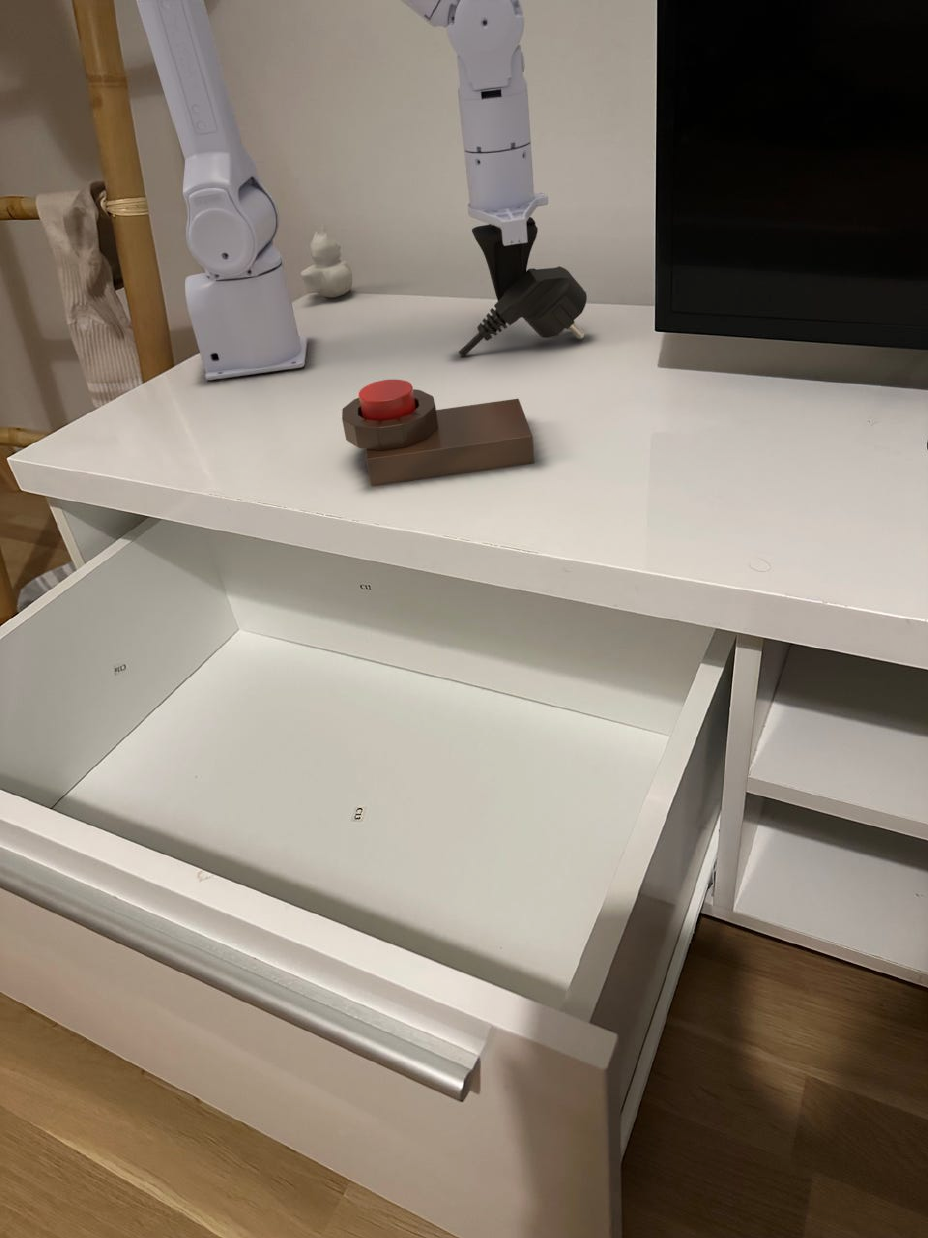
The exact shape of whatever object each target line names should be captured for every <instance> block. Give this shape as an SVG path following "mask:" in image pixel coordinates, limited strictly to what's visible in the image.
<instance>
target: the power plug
mask: <svg viewBox="0 0 928 1238" xmlns="http://www.w3.org/2000/svg"><path fill="white" fill-rule="evenodd" d="M573 276H574V275H572V273H571V272H570V271H569V270H567V268H565V267H562V266H556V267H549V268H537V269H536V268H535V267H534V268H527V269H526V272H525V273H524V274H523V275H522V276H521V277H520V278H519V279H518V280H517V281H516V282H515V283H514V284H513V285H512V286H511V287H510V288H509V289H507V290H506V291H505V292H504V295H503V297H502V298H501V299H500V300H499V301H498V300H497V301H496V302H495V303H494V305H493V307H494V308H495V309H494V308H493V307H492V308H490V310H489V311H490V313H489V312H488V313H487V314H486V318H485V317H484V318H483V319H482V320H481V321H482V322H483V323H482V322H480V323H479V324H478V326H477V328H476V329H477V331H478V333H476V335H474V336H473V337H472V339H471V340H469V342H467V343H466V344H465V345H464V346H463V347H462V348H461V349H460V350H459V351H458V354H459V355H460V356H461V357H462V358H464V357H466V356H467V355H468V354H469V353H470V352H471V351H472V350H473V349H474V348H475V347H476V346H477V345H478V344H479V343H480V342H481V341H482V340H483V339H484V340H485V341H487V342H488V341H490V340H492V339H493V336H494V337H496V336H497V335H498V333H502V332H503V329H504V330H506V329H507V328H508V326H507V324H508V325H509V326H511V325H513V324H514V323H516V322H517V321H519V319H521V318H523V320H524V321H525V322H526V323H527V324H528V325H529V326H530V327H531V328H532V329H533V330H534V331H535V333H536V334H537V335H539V336H540V337H541V338H544V339H549V338H554V337H557V336H559V335H560V334H561V333H562V332H563V331H564V330H565V329H566V330H569V331H570V332H571V333H572V334H573V335H574V336H575V337H576V338H577V339H578V340H582V339H583V338H584V337H585V333H584V331H583V330H582V328H581V327H579V325H578V324H577V323H576V319H577V318H578V317H579V316H581V314H582V313H583V311H584V309H585V307H586V304H587V299H588V296H587V292H586V291H585V290H584V288H583V287H582V286H581V285H580V283H579V282H578V281H577V280H576V279H575V277H573ZM491 314H492V315H491ZM502 328H503V329H502ZM497 331H498V333H497ZM492 335H493V336H492Z"/></svg>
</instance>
